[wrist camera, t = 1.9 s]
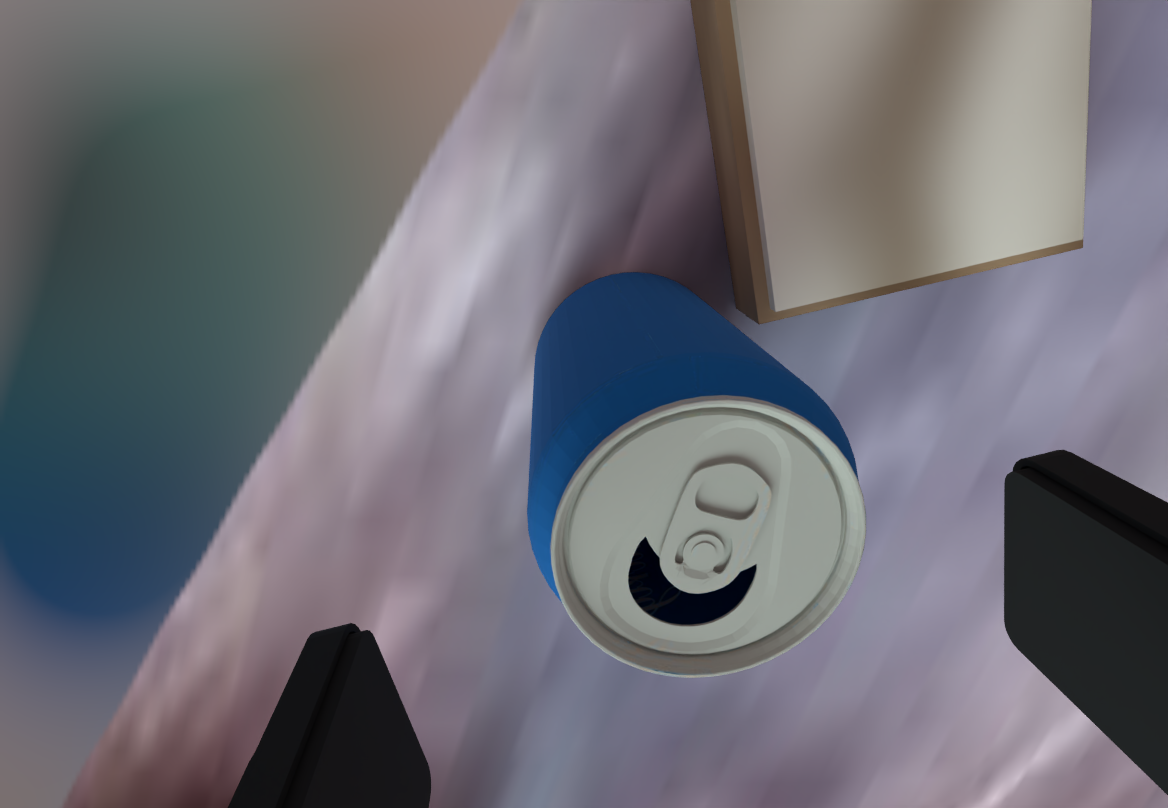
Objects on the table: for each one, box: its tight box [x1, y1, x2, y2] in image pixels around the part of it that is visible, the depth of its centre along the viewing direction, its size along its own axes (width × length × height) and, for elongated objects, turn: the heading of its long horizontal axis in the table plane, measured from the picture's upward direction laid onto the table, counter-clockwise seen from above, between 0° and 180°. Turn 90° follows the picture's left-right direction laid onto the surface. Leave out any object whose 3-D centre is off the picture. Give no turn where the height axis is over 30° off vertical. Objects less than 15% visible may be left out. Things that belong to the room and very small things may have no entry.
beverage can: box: [527, 272, 866, 678], centre depth 17 cm, size 6×6×12 cm
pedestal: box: [690, 0, 1092, 324], centre depth 19 cm, size 10×10×3 cm
